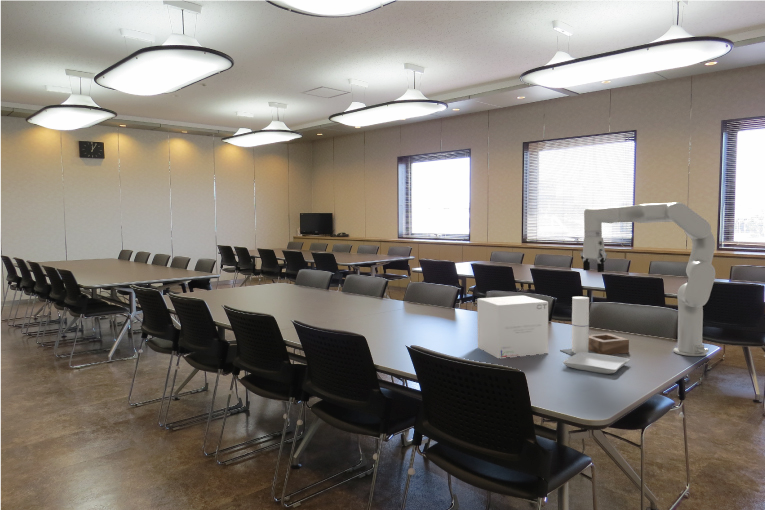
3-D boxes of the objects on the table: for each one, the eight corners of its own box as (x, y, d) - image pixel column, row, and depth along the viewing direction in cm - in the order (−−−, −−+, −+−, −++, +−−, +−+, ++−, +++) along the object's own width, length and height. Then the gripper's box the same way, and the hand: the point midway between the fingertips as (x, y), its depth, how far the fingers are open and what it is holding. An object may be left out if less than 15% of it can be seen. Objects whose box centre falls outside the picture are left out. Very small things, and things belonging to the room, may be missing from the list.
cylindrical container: (570, 352, 238) (571, 298, 236) (572, 349, 244) (573, 296, 242) (587, 354, 234) (588, 299, 232) (589, 350, 241) (589, 297, 239)
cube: (498, 359, 233) (498, 305, 231) (477, 348, 253) (477, 298, 252) (548, 354, 239) (548, 301, 238) (523, 344, 260) (523, 295, 258)
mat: (599, 354, 235) (599, 353, 235) (576, 357, 232) (576, 356, 232) (582, 348, 246) (582, 347, 246) (560, 350, 243) (560, 349, 243)
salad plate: (579, 358, 232) (579, 350, 232) (630, 365, 219) (630, 357, 218) (561, 369, 216) (561, 361, 215) (616, 378, 202) (616, 369, 202)
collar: (628, 352, 238) (628, 339, 237) (602, 355, 234) (602, 342, 234) (607, 345, 251) (608, 333, 251) (582, 348, 248) (582, 335, 247)
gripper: (612, 234, 237) (613, 272, 238) (587, 234, 253) (587, 269, 254) (599, 235, 234) (599, 273, 236) (574, 234, 251) (574, 270, 252)
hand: (593, 271), depth 245 cm, fingers open, 9 cm apart
